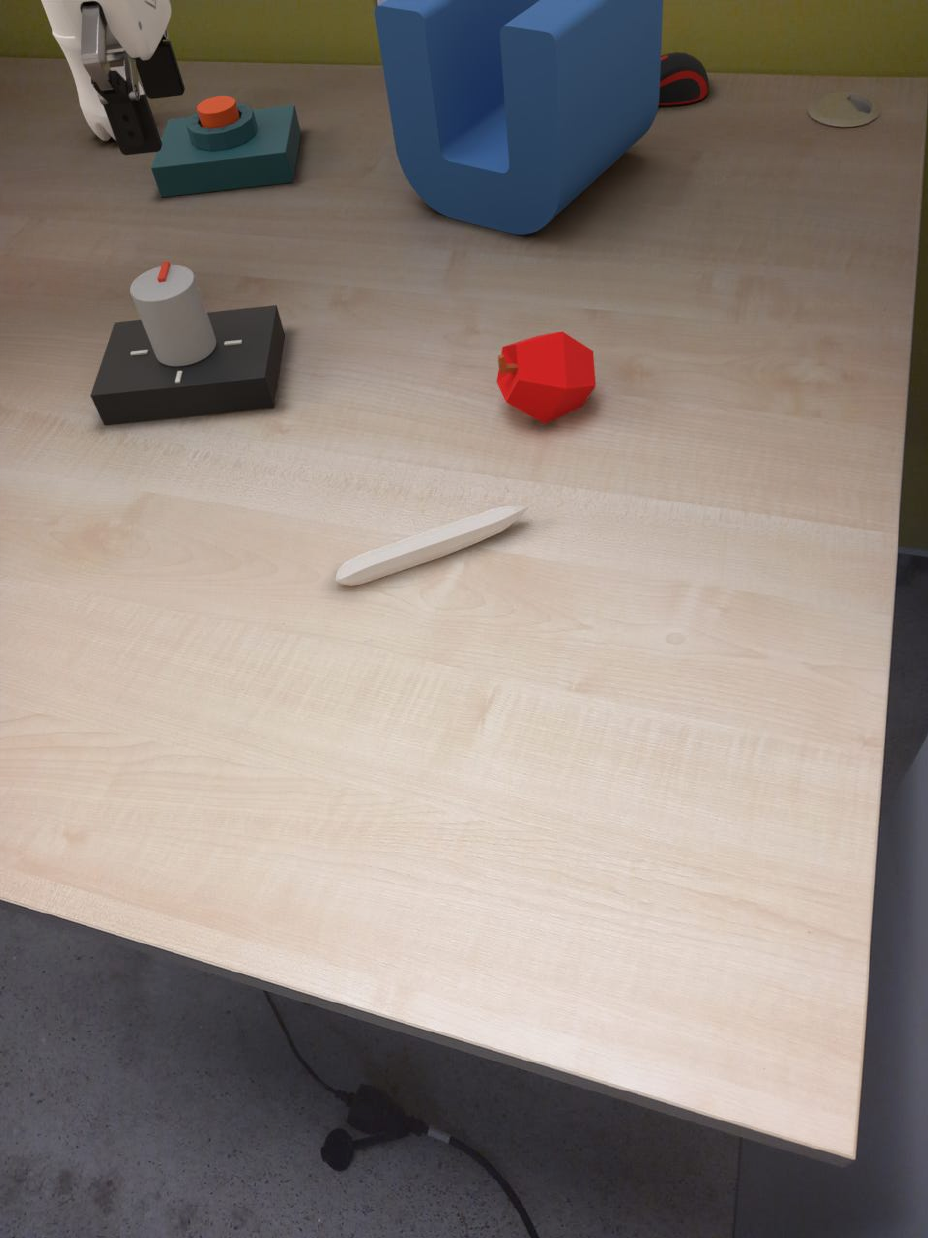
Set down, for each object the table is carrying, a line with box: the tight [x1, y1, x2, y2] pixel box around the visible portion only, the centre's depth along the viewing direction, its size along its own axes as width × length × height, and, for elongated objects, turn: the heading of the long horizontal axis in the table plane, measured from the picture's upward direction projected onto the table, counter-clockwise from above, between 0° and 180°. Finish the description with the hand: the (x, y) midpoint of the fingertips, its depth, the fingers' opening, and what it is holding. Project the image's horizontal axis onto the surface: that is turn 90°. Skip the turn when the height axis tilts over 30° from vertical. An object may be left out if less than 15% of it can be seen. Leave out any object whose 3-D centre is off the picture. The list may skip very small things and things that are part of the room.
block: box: [374, 0, 664, 236], centre depth 94 cm, size 18×18×18 cm
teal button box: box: [150, 102, 302, 198], centre depth 108 cm, size 14×11×5 cm
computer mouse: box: [658, 51, 710, 108], centre depth 108 cm, size 6×11×4 cm, turn 96°
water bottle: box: [40, 0, 145, 142], centre depth 108 cm, size 7×7×25 cm
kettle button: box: [196, 95, 240, 129], centre depth 106 cm, size 4×4×2 cm
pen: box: [334, 505, 529, 586], centre depth 69 cm, size 2×14×2 cm, turn 111°
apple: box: [496, 331, 597, 425], centre depth 76 cm, size 7×7×8 cm
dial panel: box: [90, 304, 286, 426], centre depth 84 cm, size 14×10×3 cm
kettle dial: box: [129, 261, 216, 367], centre depth 81 cm, size 5×5×6 cm
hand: (155, 122), depth 81 cm, fingers open, 9 cm apart
